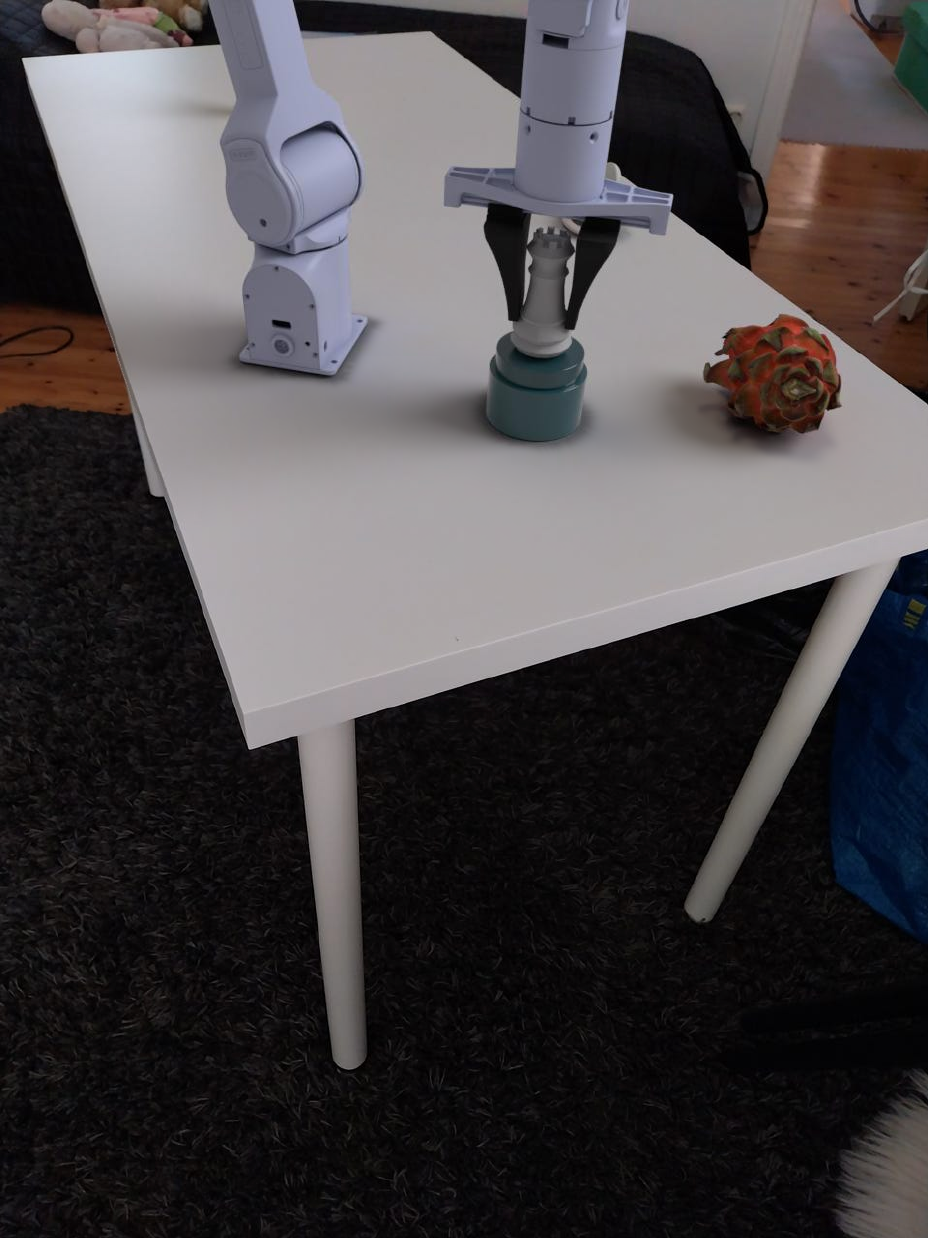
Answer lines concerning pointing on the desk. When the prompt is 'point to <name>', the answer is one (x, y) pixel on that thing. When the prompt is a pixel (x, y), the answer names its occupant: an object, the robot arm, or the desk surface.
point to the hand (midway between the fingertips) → (543, 319)
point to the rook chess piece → (545, 297)
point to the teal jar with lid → (535, 392)
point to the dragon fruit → (778, 374)
